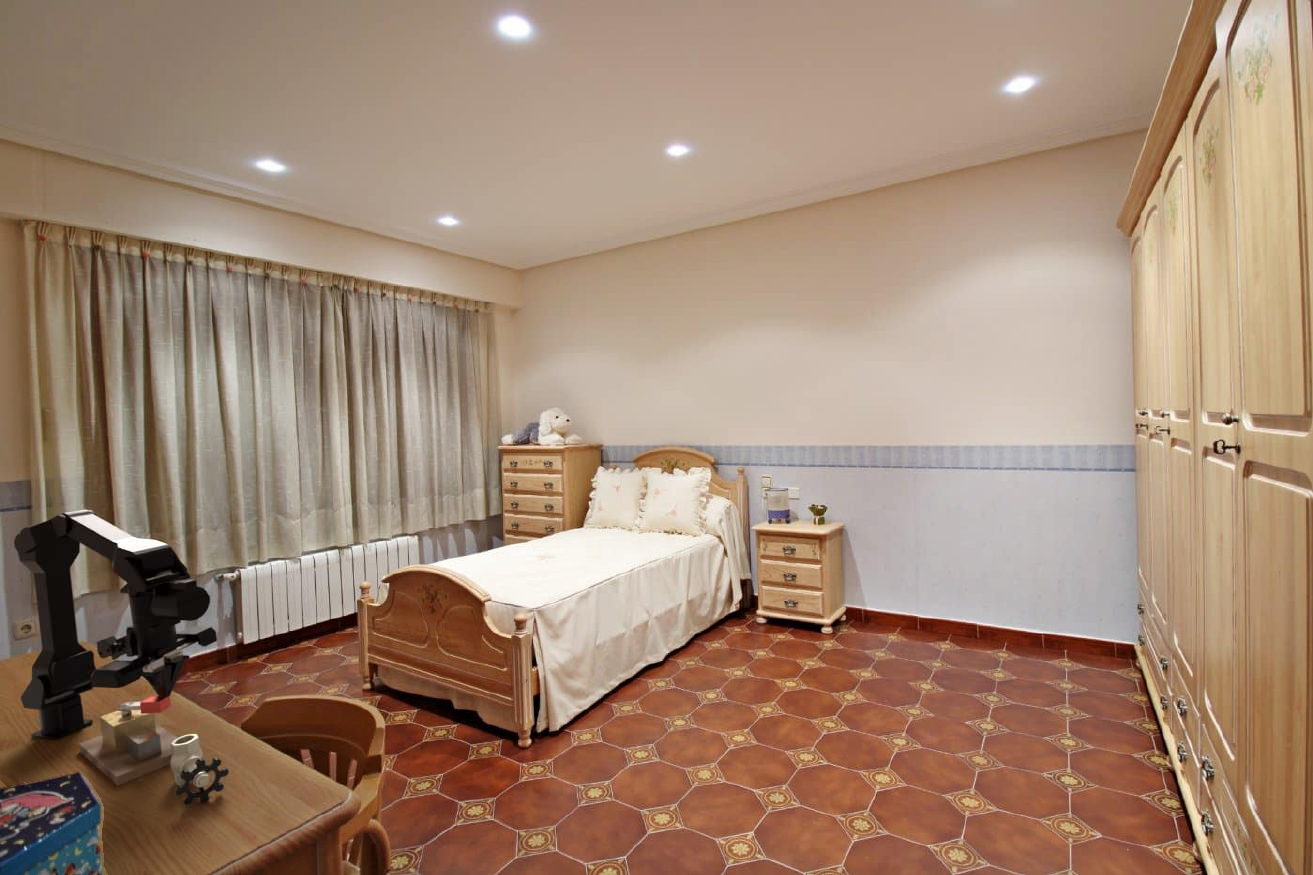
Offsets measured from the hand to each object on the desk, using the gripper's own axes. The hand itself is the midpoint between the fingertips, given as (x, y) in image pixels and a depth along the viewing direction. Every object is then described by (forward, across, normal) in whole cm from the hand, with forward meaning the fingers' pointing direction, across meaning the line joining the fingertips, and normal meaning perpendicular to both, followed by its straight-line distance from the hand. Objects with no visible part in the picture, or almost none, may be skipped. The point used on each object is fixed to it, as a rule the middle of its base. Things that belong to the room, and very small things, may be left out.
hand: (165, 700), depth 112 cm
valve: (+8, +12, +18) cm, 22 cm away
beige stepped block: (+6, +4, -3) cm, 8 cm away
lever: (+1, +2, -2) cm, 3 cm away
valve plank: (+8, +4, -3) cm, 9 cm away
